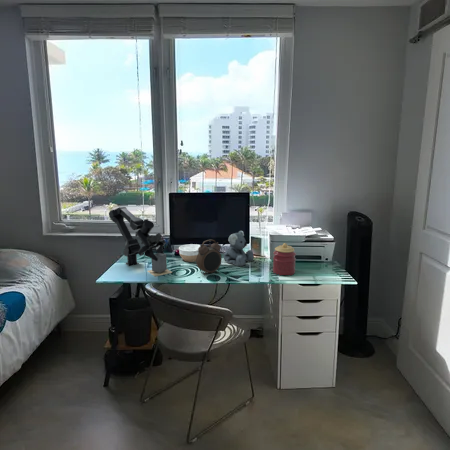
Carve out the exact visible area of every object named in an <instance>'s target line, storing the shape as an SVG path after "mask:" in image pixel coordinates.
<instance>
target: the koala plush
mask: <svg viewBox="0 0 450 450" xmlns="http://www.w3.org/2000/svg"><path fill="white" fill-rule="evenodd" d="M244 236H245V234H244V231H243V230H239V231H238V232H235V233H232V234H230V235H229V237H228V242H229V247H228V249H227V250H226V251H224V253H223V260H224V261H225V262H226V263H227V264H231V265H234V266H236V267H243V266H244V265H246V262H252V261H254V257H255V256H254V251H253V250H252V249H248V250H247V251H246V252H245V250H244V249H245V248H246V247H247V246H248V243H247V241H246V238H245V237H244Z"/></svg>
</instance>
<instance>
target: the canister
mask: <svg viewBox="0 0 450 450" xmlns="http://www.w3.org/2000/svg"><path fill="white" fill-rule="evenodd" d="M272 254H273V257H272V273H273V274H275V273H276V274H275V275H277V274H279V275H278V276H281V275H290V276H293V275H294V274H295V273H296V261H297V258H296V256H297V253H296V251H295V248H294V247H293V246H291V245H288V244H287V242H284V243H283V244H282V245H281V244H280V245H278V246H276V247H274V251H273V252H272Z"/></svg>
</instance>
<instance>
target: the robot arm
mask: <svg viewBox="0 0 450 450" xmlns="http://www.w3.org/2000/svg"><path fill="white" fill-rule="evenodd" d="M108 216H109V218H110V220H111V221H112V222H114V223H115V224H116V226H117V227H118V230H119V232H120V234H121V236H122V238H123V240H124V242H125V244H124V248H125V249H124V250H123V252H122V253H123V255H124V256H125V257H126V258H127V259H126V260H127V262H125V264H126V265H127V266H128V267H132V266H136V265H139V264H140V263H139V262H138V257H137V256H138V255H139V256H140V257H141V256H144V257H148V258H150V259H151V258H152V259H153V260H155V261H157V260H158V259H157V258H156V256H155V255H154V254H155V253H154V251H153V249H156V250H155V252H156V253H163V254H165V253H164V249H163V248H164V246H165V245H166V244H167V242H166V240H165V239H162V238H163V235H162V234H161V232H157V233H156V234H155V235H154V236H153V235H150V233H151V231H152V230H153V229H154V226H155V223H154V222H153V221H152V220H149V219H148V218H145V219H144V220H143V218H141V217H137V216H136V215H134V214H133V213H132V212H131V211H130V210H129V209H128V207H126V206H118V207H117V208H115V209H111V210H109V212H108ZM124 219H125V220H126V221H127V222H128V223H129V227H130V228H131V229H132V231H135V237H136V238H134V237H133V236H132V234H131V232H130V230H129V228H128V226H127V224H126V222H125V220H124ZM137 237H138V238H139V239H140V241H141V243H139V241H138V238H137ZM140 244H141V245H144V246H141V245H140ZM152 259H151V260H152Z"/></svg>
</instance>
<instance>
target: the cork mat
mask: <svg viewBox="0 0 450 450" xmlns="http://www.w3.org/2000/svg"><path fill="white" fill-rule="evenodd" d="M146 271H147V273H149V274H151V275H152V276H153V277H155V278H156V277H160V276H163V275H168V274H172V273H173V271H171V270H169V269H168V268H167V270H165V271H163V272H161V273H158V272H154V271H152V269H149V270H146Z"/></svg>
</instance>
